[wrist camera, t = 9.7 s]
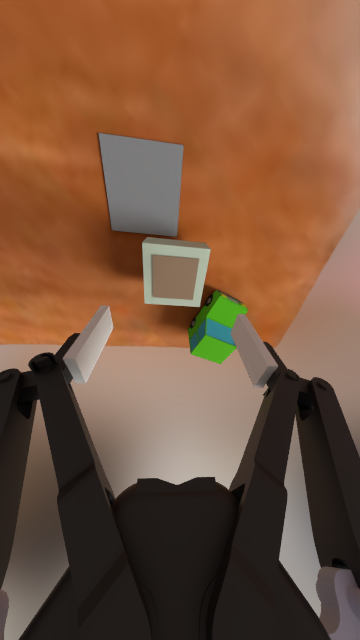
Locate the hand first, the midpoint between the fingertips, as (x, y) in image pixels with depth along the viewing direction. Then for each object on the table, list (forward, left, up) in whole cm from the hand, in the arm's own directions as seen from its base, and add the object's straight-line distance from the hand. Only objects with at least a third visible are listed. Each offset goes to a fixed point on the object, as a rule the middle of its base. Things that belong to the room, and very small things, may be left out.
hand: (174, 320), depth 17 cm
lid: (0, 0, -17) cm, 16 cm away
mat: (-6, +11, -21) cm, 24 cm away
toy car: (+11, -12, -21) cm, 27 cm away
